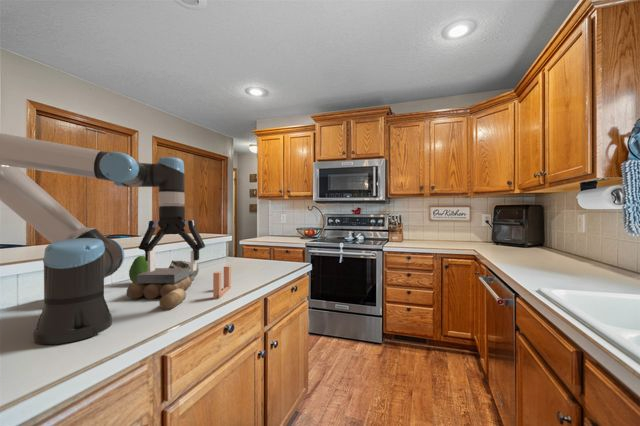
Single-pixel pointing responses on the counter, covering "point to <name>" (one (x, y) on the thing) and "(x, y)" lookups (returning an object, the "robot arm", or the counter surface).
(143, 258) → the fruit
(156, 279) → the slab
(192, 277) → the rock
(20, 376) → the counter surface
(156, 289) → the brown bread rolls
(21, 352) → the counter surface
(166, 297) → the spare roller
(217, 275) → the wooden u-shaped block
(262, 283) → the counter surface
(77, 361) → the counter surface
